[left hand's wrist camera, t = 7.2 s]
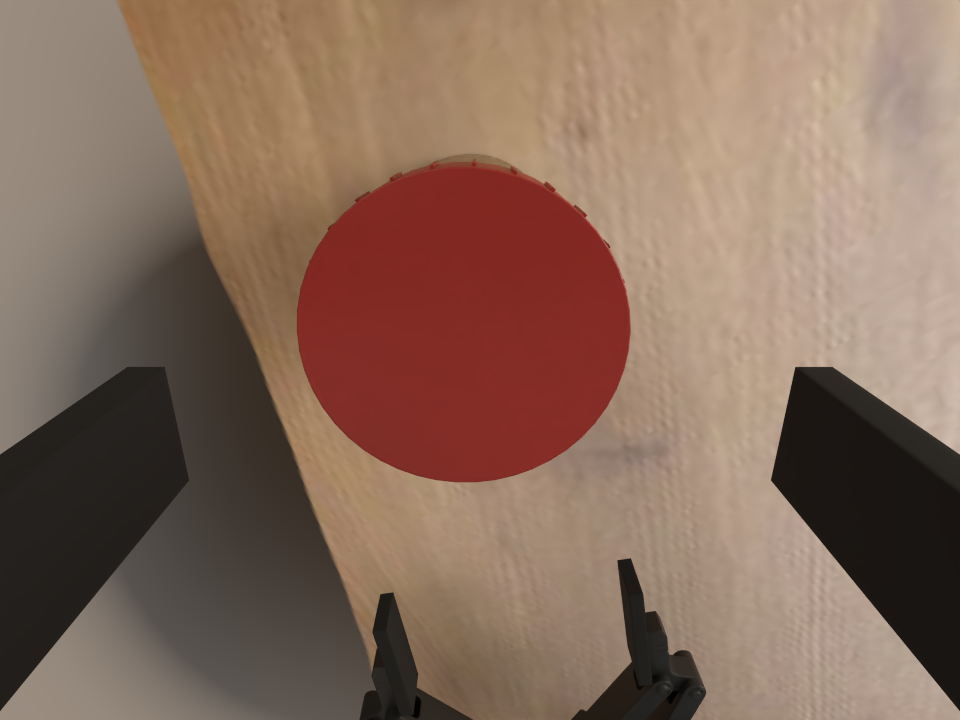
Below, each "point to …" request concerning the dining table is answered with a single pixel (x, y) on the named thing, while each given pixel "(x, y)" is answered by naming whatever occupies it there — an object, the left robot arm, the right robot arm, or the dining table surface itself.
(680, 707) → the right robot arm
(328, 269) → the lid
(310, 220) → the dining table surface
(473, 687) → the dining table surface
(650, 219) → the dining table surface
